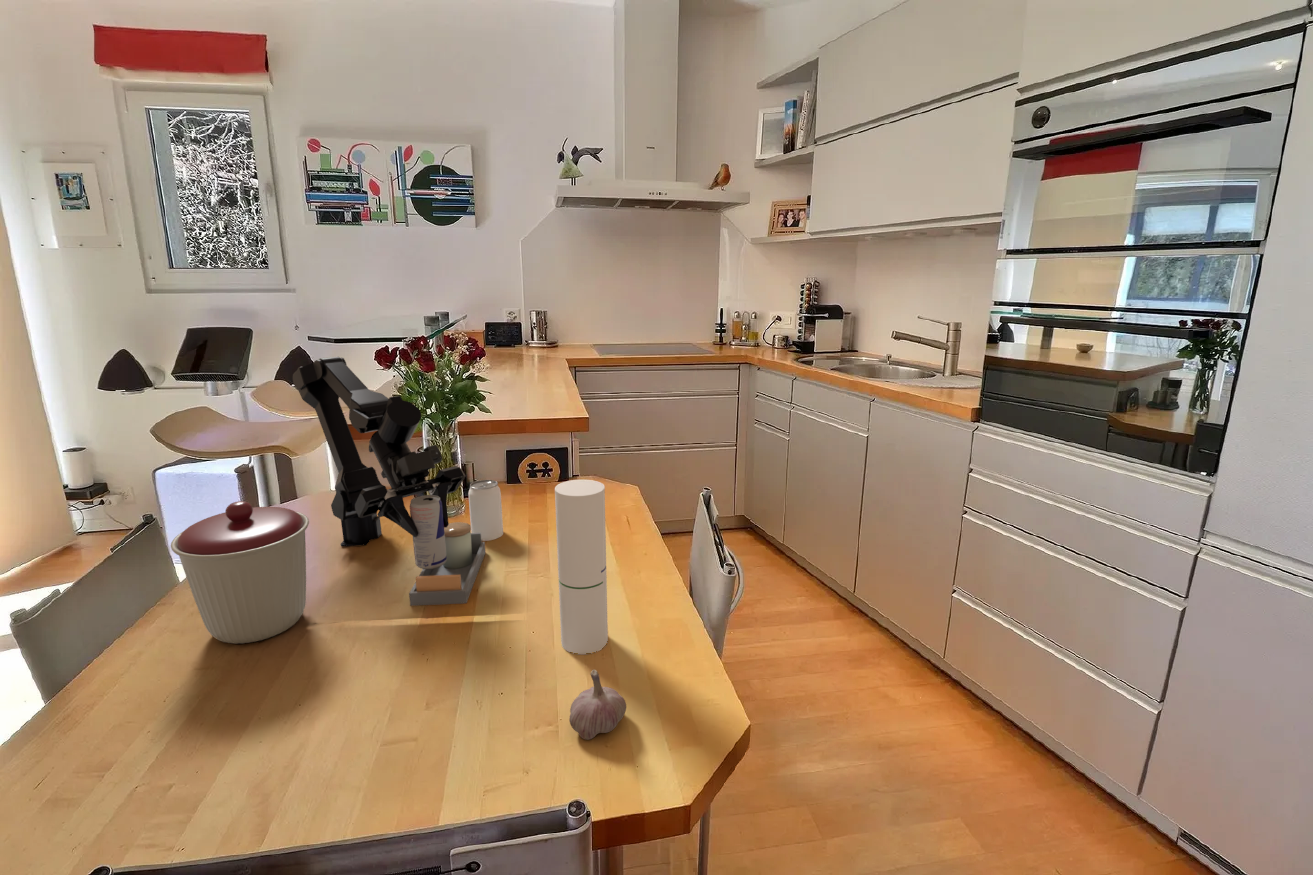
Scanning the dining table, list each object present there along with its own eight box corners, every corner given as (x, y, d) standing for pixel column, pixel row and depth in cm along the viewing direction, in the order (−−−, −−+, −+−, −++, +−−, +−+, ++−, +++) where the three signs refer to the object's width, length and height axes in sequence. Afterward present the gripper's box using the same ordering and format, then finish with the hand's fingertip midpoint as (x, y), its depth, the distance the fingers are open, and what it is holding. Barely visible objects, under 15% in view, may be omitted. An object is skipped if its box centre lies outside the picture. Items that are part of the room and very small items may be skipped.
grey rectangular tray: (410, 609, 110) (407, 582, 109) (438, 557, 130) (435, 534, 128) (466, 607, 111) (464, 580, 110) (485, 555, 130) (484, 532, 129)
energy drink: (451, 557, 120) (446, 495, 117) (439, 570, 115) (433, 506, 112) (423, 555, 121) (417, 494, 117) (410, 569, 115) (403, 504, 112)
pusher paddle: (417, 601, 111) (415, 578, 110) (419, 598, 112) (416, 576, 111) (461, 599, 112) (459, 576, 111) (462, 596, 113) (460, 574, 111)
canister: (162, 644, 100) (134, 515, 95) (267, 590, 117) (248, 477, 111) (249, 669, 94) (224, 532, 89) (347, 608, 111) (330, 490, 105)
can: (507, 532, 142) (504, 479, 139) (497, 544, 136) (493, 489, 132) (478, 531, 142) (474, 478, 139) (467, 543, 136) (462, 488, 133)
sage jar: (438, 569, 123) (435, 534, 121) (445, 556, 128) (442, 522, 127) (470, 568, 123) (467, 533, 122) (475, 554, 129) (473, 521, 127)
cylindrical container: (615, 633, 103) (612, 482, 97) (596, 658, 97) (592, 498, 90) (573, 625, 106) (568, 477, 99) (552, 649, 99) (545, 492, 93)
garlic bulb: (577, 752, 79) (575, 694, 76) (561, 714, 85) (558, 660, 83) (636, 734, 82) (636, 678, 79) (616, 699, 88) (615, 647, 86)
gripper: (354, 443, 108) (393, 524, 103) (456, 423, 121) (494, 494, 117) (339, 478, 115) (375, 555, 110) (437, 456, 128) (472, 524, 124)
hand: (432, 531), depth 115 cm, fingers closed on energy drink, 5 cm apart
